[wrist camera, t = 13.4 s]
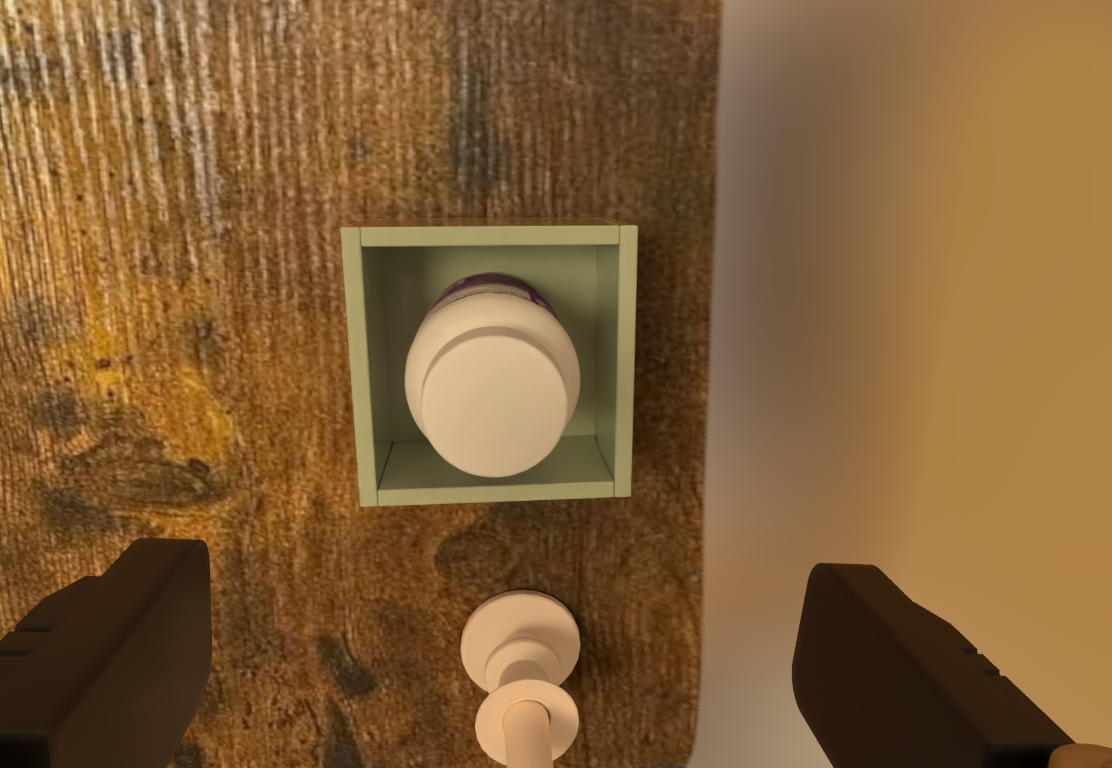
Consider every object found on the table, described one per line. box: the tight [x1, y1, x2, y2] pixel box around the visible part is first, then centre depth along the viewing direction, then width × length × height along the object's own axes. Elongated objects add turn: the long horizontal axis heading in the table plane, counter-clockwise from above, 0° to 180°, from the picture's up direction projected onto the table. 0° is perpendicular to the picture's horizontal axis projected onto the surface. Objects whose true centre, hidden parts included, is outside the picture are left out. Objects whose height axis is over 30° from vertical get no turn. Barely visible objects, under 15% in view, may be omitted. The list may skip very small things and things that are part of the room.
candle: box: [461, 590, 580, 768], centre depth 29 cm, size 5×5×10 cm
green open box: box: [340, 217, 638, 507], centre depth 28 cm, size 9×9×6 cm
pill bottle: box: [405, 272, 580, 477], centre depth 25 cm, size 5×5×10 cm
